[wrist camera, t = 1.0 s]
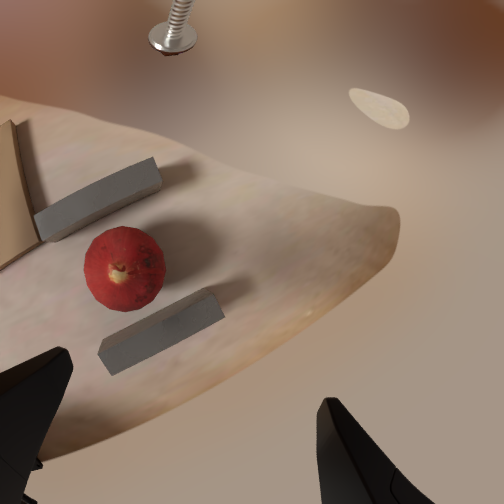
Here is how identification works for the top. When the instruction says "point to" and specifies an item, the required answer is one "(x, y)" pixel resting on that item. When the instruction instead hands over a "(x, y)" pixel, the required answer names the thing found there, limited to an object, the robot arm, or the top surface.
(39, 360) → the robot arm
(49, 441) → the top surface
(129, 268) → the onion
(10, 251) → the tan board
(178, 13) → the screw
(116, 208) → the twin grey rails
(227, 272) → the top surface
